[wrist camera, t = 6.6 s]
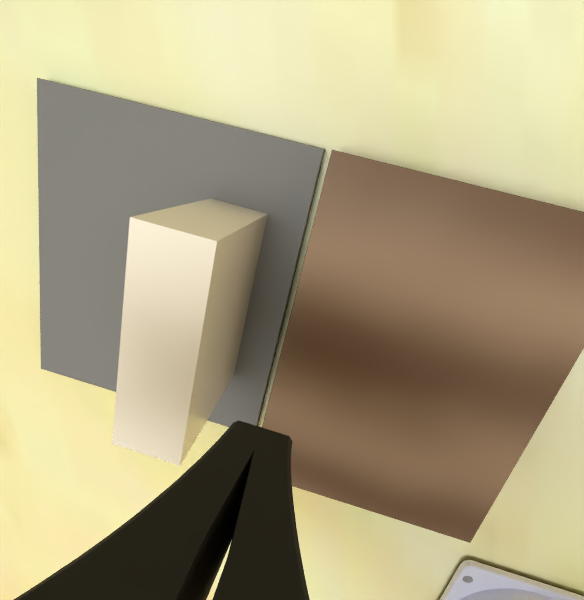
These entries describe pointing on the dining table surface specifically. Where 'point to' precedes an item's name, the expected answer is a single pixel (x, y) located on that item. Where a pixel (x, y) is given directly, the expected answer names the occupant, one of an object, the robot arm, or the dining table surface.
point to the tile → (182, 321)
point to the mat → (148, 198)
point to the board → (425, 341)
